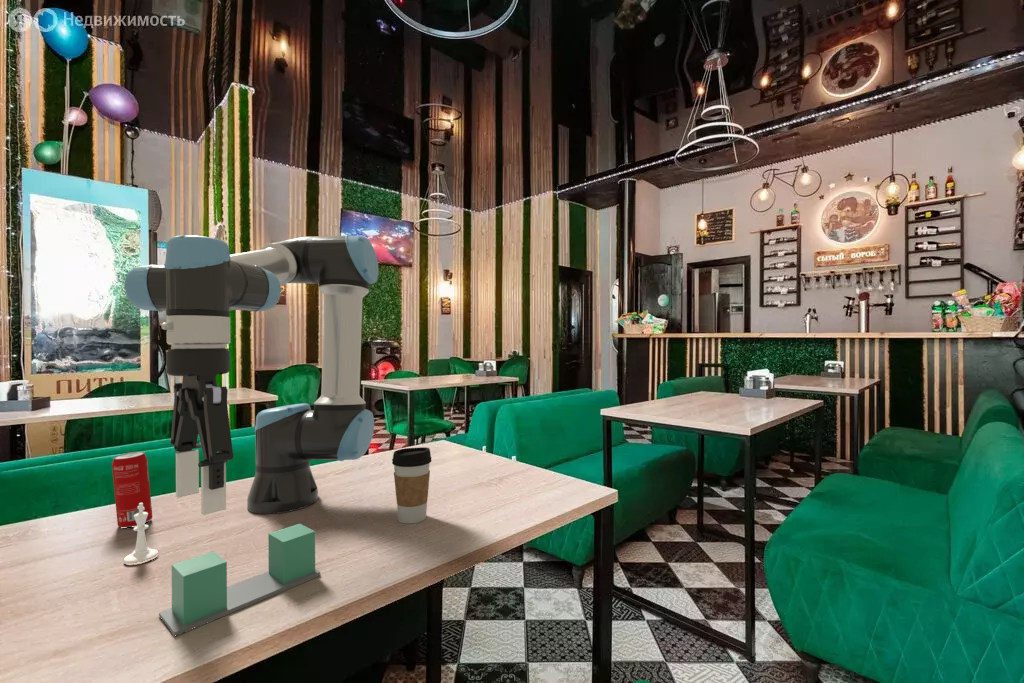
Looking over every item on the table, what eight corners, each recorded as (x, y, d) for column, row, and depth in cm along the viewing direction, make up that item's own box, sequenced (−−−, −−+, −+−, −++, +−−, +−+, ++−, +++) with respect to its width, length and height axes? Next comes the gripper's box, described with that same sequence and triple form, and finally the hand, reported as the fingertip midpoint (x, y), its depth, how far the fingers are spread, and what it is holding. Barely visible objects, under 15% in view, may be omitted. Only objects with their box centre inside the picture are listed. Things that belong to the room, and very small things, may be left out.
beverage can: (158, 521, 99) (157, 451, 99) (122, 532, 93) (121, 458, 93) (142, 516, 101) (142, 449, 101) (106, 527, 95) (106, 455, 95)
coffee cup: (422, 527, 95) (422, 455, 95) (385, 524, 96) (384, 453, 96) (437, 512, 103) (437, 446, 103) (402, 510, 104) (402, 444, 104)
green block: (171, 611, 65) (171, 564, 65) (213, 595, 69) (213, 551, 69) (183, 625, 61) (183, 576, 61) (226, 607, 65) (226, 561, 65)
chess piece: (129, 568, 78) (129, 510, 78) (118, 561, 81) (118, 504, 81) (163, 557, 82) (163, 501, 82) (152, 550, 85) (151, 496, 85)
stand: (159, 616, 64) (158, 565, 64) (299, 562, 80) (299, 521, 80) (174, 636, 60) (174, 582, 60) (320, 575, 75) (320, 531, 75)
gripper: (144, 346, 69) (145, 493, 69) (195, 347, 55) (196, 532, 55) (201, 346, 75) (202, 481, 75) (261, 347, 61) (262, 513, 61)
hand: (200, 502), depth 65 cm, fingers open, 10 cm apart
